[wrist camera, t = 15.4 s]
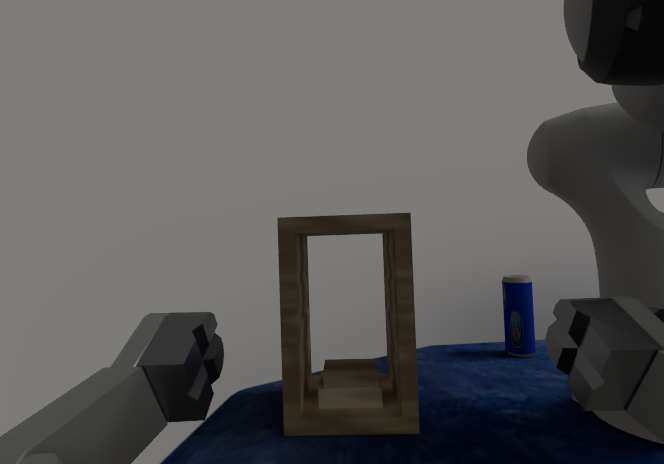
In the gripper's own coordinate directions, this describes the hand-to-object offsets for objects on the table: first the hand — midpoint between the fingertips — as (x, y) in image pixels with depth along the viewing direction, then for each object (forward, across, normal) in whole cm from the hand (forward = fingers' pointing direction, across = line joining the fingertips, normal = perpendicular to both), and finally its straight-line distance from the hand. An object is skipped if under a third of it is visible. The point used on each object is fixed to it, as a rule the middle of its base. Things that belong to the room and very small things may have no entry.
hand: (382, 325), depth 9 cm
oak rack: (+25, +1, +39) cm, 47 cm away
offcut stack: (+25, +1, +37) cm, 44 cm away
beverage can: (+44, -32, +51) cm, 74 cm away
